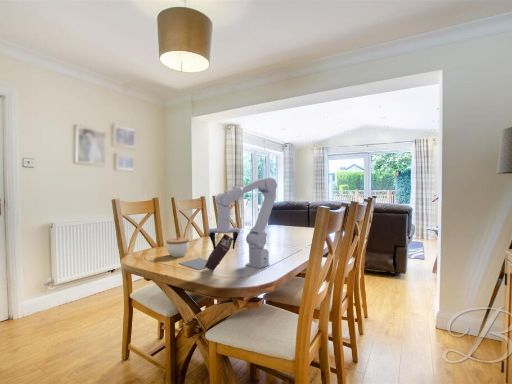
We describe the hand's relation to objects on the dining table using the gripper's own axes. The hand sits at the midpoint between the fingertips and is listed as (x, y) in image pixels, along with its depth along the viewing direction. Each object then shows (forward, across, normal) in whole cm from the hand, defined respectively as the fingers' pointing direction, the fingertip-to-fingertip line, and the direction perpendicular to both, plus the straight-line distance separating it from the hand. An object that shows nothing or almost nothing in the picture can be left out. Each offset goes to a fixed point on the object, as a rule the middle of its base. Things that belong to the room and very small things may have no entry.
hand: (224, 248), depth 124 cm
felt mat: (+11, +14, -14) cm, 22 cm away
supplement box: (+8, +6, -4) cm, 11 cm away
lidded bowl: (+11, +28, -33) cm, 45 cm away
